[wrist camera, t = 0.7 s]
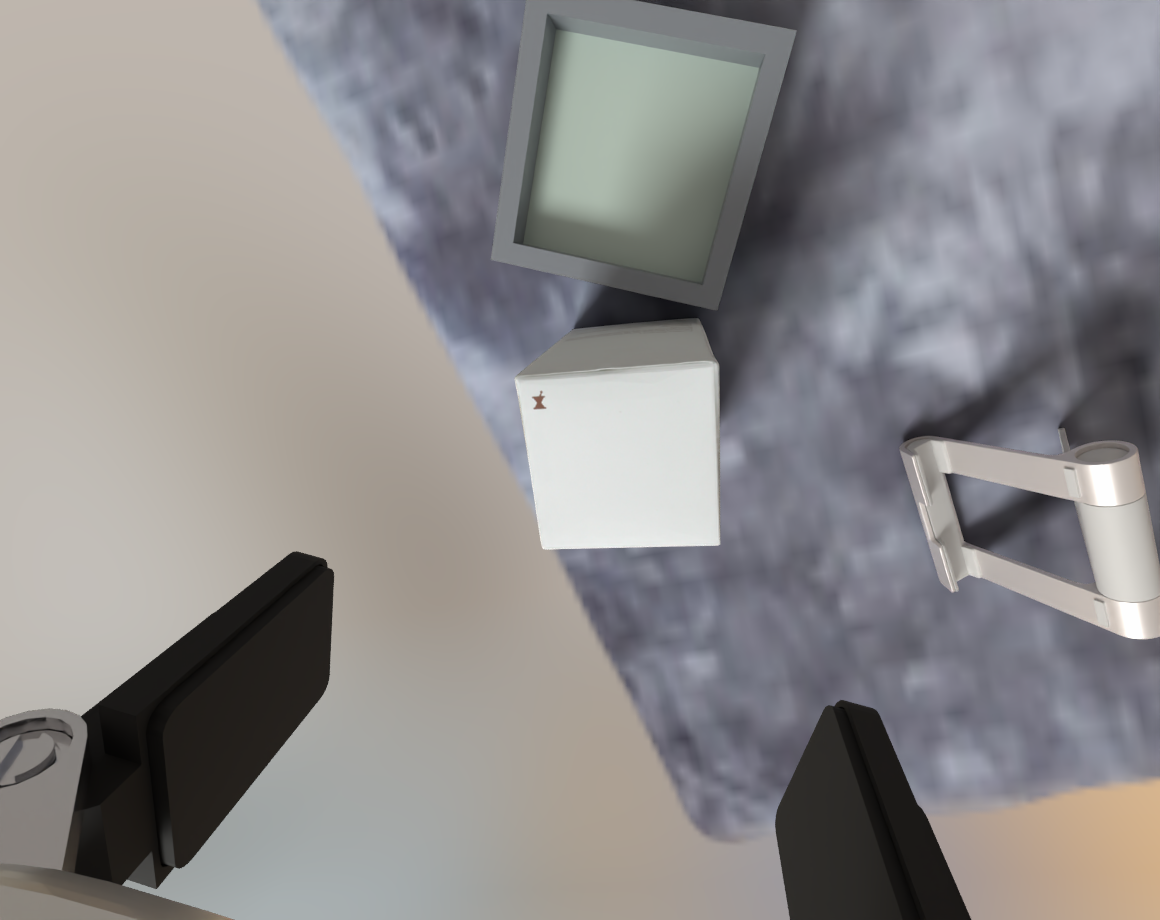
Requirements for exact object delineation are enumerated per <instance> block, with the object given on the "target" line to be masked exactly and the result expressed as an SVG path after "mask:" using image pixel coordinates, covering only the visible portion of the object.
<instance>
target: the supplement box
mask: <svg viewBox="0 0 1160 920" xmlns="http://www.w3.org/2000/svg"><path fill="white" fill-rule="evenodd" d="M515 383H516V388H517V394H518V400H519V406H520V412H521V418H522V424H523V430H524V436H525V442H526V448H527V454H528V460H529V466H530V473H531V480H532V486H533V493H534V499H535V506H536V513H537V520H538V527H539V533H540V539H541V545H542V548H543V549H579V548H625V547H668V546H717V545H720V387H719V363H718V362H717V360H716V359H715V357H714V355H713V353H712V350H711V347H710V345H709V342H708V339H707V336H706V333H705V331H704V328H703V326H702V325H701V322H700V320H699V319H698V318H687V319H672V320H661V321H649V322H639V323H629V324H619V325H609V326H599V327H589V328H579V329H572V331H570V332H569V333H568V334H567V335H565V336H564V337H563V338H562V339H561V340H559V341H558V342H557V343H556V344H554V345H553V346H552V347H551V348H549V349H548V350H547V351H546V352H545V353H543V354H542V355H541V356H540V357H538V358H537V359H536V360H535V361H534V362H532V363H531V364H530V365H529V366H527V367H526V368H525V369H524V370H523V371H521V372H520V373H519V374H518V375H517V376H516V377H515Z"/></svg>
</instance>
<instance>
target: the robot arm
mask: <svg viewBox="0 0 1160 920" xmlns="http://www.w3.org/2000/svg"><path fill="white" fill-rule="evenodd" d="M333 585H334V572H333V570H332V569H329V568H328V567H327V562H326V560H324V559H323V558H319V557H315V556H312V555H308V554H304V553H301V552H292V553H291V554H289V555H288V556H286V557H285V558H284V559H283V560H281V561H280V562H279V563H277V564H276V565H275V566H274V567H273V568H271V569H270V570H268V571H267V572H266V573H265V574H263V575H262V576H261V577H260V578H258V579H257V580H256V581H254V582H253V583H252V584H251V585H249V586H248V587H247V588H246V589H244V590H243V591H242V592H240V593H239V594H238V595H237V596H235V597H234V598H233V599H231V600H230V601H229V602H228V603H226V604H225V605H224V606H223V607H221V608H220V609H219V610H217V611H216V612H215V613H213V614H211V615H210V616H209V617H208V618H206V619H205V620H204V621H202V622H201V623H200V624H199V625H197V626H196V627H195V628H194V629H192V630H191V631H190V632H188V633H187V634H186V635H185V636H183V637H182V638H181V639H180V640H178V641H177V642H176V643H174V644H173V645H172V646H170V647H169V648H168V649H167V650H165V651H164V652H163V653H161V654H160V655H159V656H158V657H156V658H155V659H154V660H153V661H151V662H150V663H149V664H147V665H146V666H145V667H144V668H142V669H141V670H140V671H138V672H137V673H136V674H135V675H134V676H132V677H131V678H130V679H128V680H127V681H126V682H124V683H123V684H122V685H121V686H119V687H118V688H117V689H115V690H114V691H113V692H112V693H110V694H109V695H108V696H107V697H105V698H104V699H103V700H102V701H100V702H99V703H98V704H96V705H95V706H94V707H92V709H90V710H89V711H87V712H86V713H85V714H84V715H82V716H81V717H80V716H79V715H77V714H75V713H72V712H70V711H67V710H60V709H41V710H32V711H27V712H23V713H20V714H16V715H12V716H9V717H6V718H4V719H1V720H0V920H233V919H230V918H227V917H224V916H221V915H218V914H215V913H212V912H209V911H205V910H202V909H199V908H195V907H192V906H189V905H185V904H182V903H179V902H175V901H172V900H169V899H165V898H162V897H159V896H155V895H152V894H149V893H145V892H142V891H138V890H135V889H132V888H129V887H125V886H122V884H123V883H124V882H125V881H126V880H130V881H133V882H136V883H140V884H142V885H146V886H148V887H152V888H155V889H157V888H158V887H159V885H160V884H161V883H162V882H163V881H164V879H165V878H166V877H167V876H168V874H169V873H170V872H171V871H172V870H173V868H174V867H176V868H182V867H184V866H185V865H186V864H188V863H189V861H190V860H191V859H192V858H193V857H194V856H195V855H196V853H197V852H198V851H199V850H200V848H201V847H202V846H203V845H204V843H205V842H206V841H207V840H208V838H209V837H210V836H211V835H212V833H213V832H214V831H215V830H216V828H217V827H218V826H219V825H220V823H221V822H222V821H223V820H224V818H225V817H226V816H227V815H228V813H229V812H230V811H231V810H232V808H233V807H234V806H235V805H236V803H237V802H238V801H239V800H240V798H241V797H242V796H243V795H244V793H245V792H246V791H247V790H248V788H249V787H250V785H252V783H253V782H254V781H255V779H256V778H257V777H258V776H259V775H260V773H261V772H262V771H263V769H264V768H265V767H266V766H267V765H268V763H269V762H270V761H271V759H272V758H273V757H274V756H275V755H276V753H277V752H278V751H279V749H280V748H281V747H282V746H283V745H284V743H285V742H286V741H287V739H288V738H289V737H290V736H291V735H292V733H293V732H294V731H295V730H296V728H297V727H298V726H299V724H300V723H301V722H302V721H303V719H304V718H305V717H306V716H307V714H308V713H309V712H310V710H311V709H312V708H313V707H314V706H315V704H316V703H317V702H318V701H319V699H320V698H321V697H322V695H323V694H324V692H325V690H326V687H327V685H328V681H329V675H330V651H331V631H332V608H333V587H334V586H333ZM775 828H776V836H777V842H778V847H779V854H780V860H781V867H782V873H783V879H784V885H785V891H786V897H787V903H788V909H789V916H790V920H971V918H970V916H969V913H968V911H967V909H966V906H965V904H964V902H963V900H962V897H961V895H960V893H959V890H958V888H957V886H956V883H955V881H954V879H953V876H952V874H951V872H950V869H949V867H948V865H947V862H946V860H945V858H944V856H943V853H942V851H941V849H940V846H939V844H938V842H937V839H936V837H935V835H934V833H933V830H932V828H931V825H930V823H929V821H928V819H927V817H926V815H925V813H924V812H923V810H922V808H920V807H919V806H918V805H917V802H916V800H915V798H914V795H913V793H912V791H911V788H910V786H909V783H908V781H907V779H906V776H905V774H904V772H903V769H902V767H901V765H900V762H899V760H898V758H897V755H896V753H895V751H894V748H893V746H892V743H891V741H890V739H889V736H888V734H887V732H886V729H885V727H884V725H883V722H882V720H881V718H880V715H879V714H878V712H877V711H876V710H875V709H873V708H870V707H866V706H862V705H859V704H855V703H851V702H848V701H844V700H840V701H839V702H837V703H836V705H835V706H830V705H829V706H827V707H825V709H824V710H823V712H822V715H821V717H820V719H819V721H818V723H817V725H816V727H815V730H814V732H813V734H812V736H811V738H810V740H809V742H808V745H807V747H806V749H805V751H804V753H803V755H802V757H801V759H800V762H799V764H798V766H797V768H796V770H795V772H794V774H793V777H792V779H791V781H790V783H789V785H788V787H787V789H786V792H785V794H784V796H783V798H782V800H781V802H780V804H779V807H778V809H777V814H776V821H775Z"/></svg>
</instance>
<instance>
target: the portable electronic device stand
mask: <svg viewBox="0 0 1160 920" xmlns="http://www.w3.org/2000/svg"><path fill="white" fill-rule="evenodd" d="M1058 432H1059V437H1060V441H1061V445H1062V450H1063V453H1062V454H1058V455H1044V454H1038V453H1032V452H1026V451H1020V450H1014V449H1008V448H1002V447H996V446H990V445H984V444H978V443H972V442H966V441H960V440H954V439H949V438H943V437H937V436H921V437H916V438H913V439H910V440H907V441H906V442H904V443H902V444H901V445H900V447H899V449H900V453H901V456H902V459H903V462H904V466H905V469H906V472H907V475H908V479H909V482H910V485H911V489H912V492H913V495H914V498H915V502H916V505H917V508H918V511H919V515H920V518H921V521H922V524H923V528H924V531H925V534H926V538H927V541H928V544H929V547H930V551H931V554H932V557H933V560H934V564H935V567H936V570H937V573H938V577H939V580H940V582H941V583H942V584H943V585H944V586H945V587H946V588H948V589H949V590H950V591H951V592H952V593H953V592H955V591H956V592H957V591H958V590H959V588H958V585H957V581H959V580H961V579H962V578H964V577H966V576H967V575H972V576H974V577H977V578H981V577H982V578H984V579H987V580H989V581H991V582H994V583H996V584H999V585H1001V586H1003V587H1006V588H1008V589H1011V590H1013V591H1015V592H1018V593H1020V594H1022V595H1025V596H1027V597H1030V598H1032V599H1034V600H1037V601H1039V602H1042V603H1044V604H1046V605H1049V606H1051V607H1053V608H1056V609H1058V610H1061V611H1063V612H1065V613H1068V614H1070V615H1073V616H1075V617H1077V618H1080V619H1082V620H1085V621H1087V622H1090V623H1092V624H1094V625H1097V626H1099V627H1102V628H1104V629H1107V630H1109V631H1112V632H1114V633H1116V634H1118V635H1121V636H1124V637H1129V638H1134V639H1151V638H1156V637H1160V565H1159V560H1158V554H1157V549H1156V544H1155V538H1154V533H1153V528H1152V523H1151V517H1150V512H1149V507H1148V501H1147V496H1146V491H1145V486H1144V480H1143V475H1142V470H1141V464H1140V459H1139V454H1138V449H1137V447H1136V446H1135V445H1134V444H1132V443H1129V442H1125V441H1116V440H1108V441H1097V442H1091V443H1087V444H1084V445H1081V446H1078V447H1076V448H1074V449H1072V450H1070V446H1069V443H1068V440H1067V436H1066V431H1065V428H1060V429H1058ZM945 473H948V474H950V473H956V474H961V475H965V476H969V477H974V478H978V479H982V480H986V481H991V482H995V483H999V484H1003V485H1008V486H1012V487H1016V488H1020V489H1025V490H1029V491H1033V492H1037V493H1042V494H1046V495H1050V496H1055V497H1059V498H1064V499H1068V500H1073V501H1074V503H1075V507H1076V510H1077V515H1078V519H1079V523H1080V526H1081V530H1082V534H1083V538H1084V541H1085V545H1086V549H1087V553H1088V556H1089V560H1090V564H1091V567H1092V571H1093V575H1094V578H1095V582H1094V583H1090V584H1082V583H1077V582H1074V581H1071V580H1068V579H1065V578H1062V577H1060V576H1057V575H1054V574H1051V573H1049V572H1046V571H1043V570H1040V569H1038V568H1035V567H1032V566H1029V565H1027V564H1024V563H1021V562H1018V561H1016V560H1013V559H1010V558H1007V557H1005V556H1002V555H999V554H996V553H994V552H991V551H988V550H985V549H983V548H980V547H977V546H974V545H972V544H969V543H966V542H965V541H964V539H963V536H962V532H961V529H960V525H959V522H958V518H957V515H956V511H955V508H954V504H953V501H952V497H951V494H950V490H949V487H948V483H947V480H946V476H945Z"/></svg>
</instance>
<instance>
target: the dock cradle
mask: <svg viewBox="0 0 1160 920" xmlns="http://www.w3.org/2000/svg"><path fill="white" fill-rule="evenodd" d="M796 32H797V30H792V29H787V28H781V27H776V26H771V25H765V24H760V23H754V22H749V21H744V20H738V19H733V18H727V17H722V16H716V15H711V14H706V13H700V12H695V11H689V10H684V9H678V8H673V7H668V6H662V5H657V4H651V3H646V2H641V1H635V0H526V5H525V12H524V20H523V27H522V34H521V42H520V49H519V56H518V64H517V71H516V78H515V86H514V93H513V101H512V108H511V115H510V123H509V130H508V137H507V145H506V152H505V159H504V167H503V174H502V181H501V189H500V196H499V203H498V211H497V218H496V226H495V233H494V240H493V248H492V255H491V260H494V261H498V262H503V263H507V264H512V265H516V266H521V267H525V268H529V269H534V270H538V271H543V272H547V273H552V274H556V275H561V276H565V277H569V278H574V279H578V280H583V281H587V282H592V283H596V284H600V285H605V286H609V287H614V288H618V289H623V290H627V291H631V292H636V293H640V294H645V295H649V296H654V297H658V298H662V299H667V300H671V301H676V302H680V303H685V304H689V305H694V306H698V307H702V308H707V309H711V310H716V311H717V310H718V307H719V303H720V299H721V296H722V292H723V289H724V285H725V282H726V278H727V275H728V271H729V268H730V264H731V261H732V257H733V254H734V250H735V247H736V243H737V240H738V236H739V233H740V229H741V226H742V222H743V219H744V215H745V212H746V208H747V205H748V201H749V198H750V194H751V191H752V187H753V183H754V180H755V176H756V173H757V169H758V166H759V162H760V159H761V155H762V152H763V148H764V145H765V141H766V138H767V134H768V131H769V127H770V124H771V120H772V117H773V113H774V110H775V106H776V103H777V99H778V96H779V92H780V89H781V85H782V82H783V78H784V75H785V71H786V68H787V64H788V60H789V57H790V53H791V50H792V46H793V43H794V39H795V36H796Z"/></svg>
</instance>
